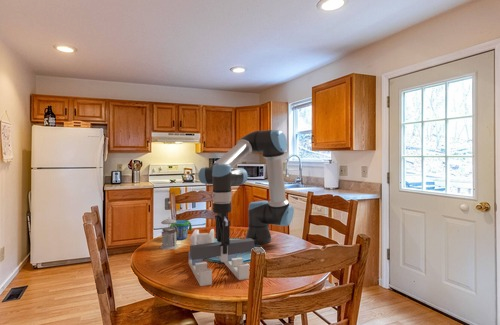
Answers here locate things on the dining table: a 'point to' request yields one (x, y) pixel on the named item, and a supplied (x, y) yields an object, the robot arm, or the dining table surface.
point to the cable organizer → (202, 237)
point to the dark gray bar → (215, 248)
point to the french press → (169, 235)
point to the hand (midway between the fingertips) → (222, 259)
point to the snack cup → (181, 228)
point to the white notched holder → (205, 274)
